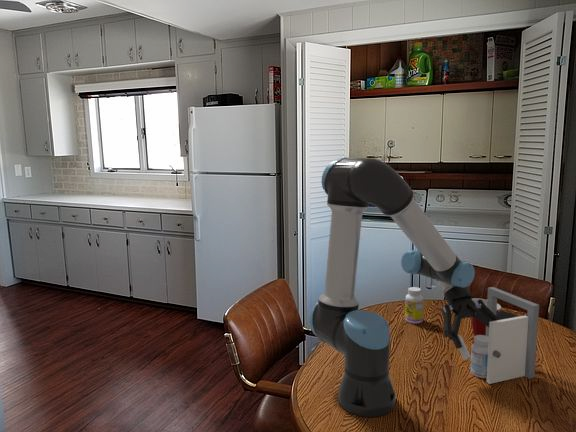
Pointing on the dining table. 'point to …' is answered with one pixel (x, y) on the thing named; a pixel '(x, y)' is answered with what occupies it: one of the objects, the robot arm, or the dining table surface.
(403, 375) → the dining table surface
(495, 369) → the door
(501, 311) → the phone
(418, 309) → the supplement bottle
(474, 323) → the plastic cup
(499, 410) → the dining table surface
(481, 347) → the pill bottle
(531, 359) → the door frame
